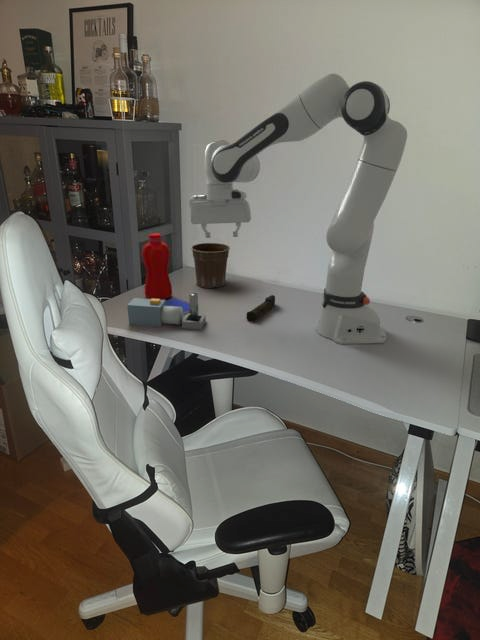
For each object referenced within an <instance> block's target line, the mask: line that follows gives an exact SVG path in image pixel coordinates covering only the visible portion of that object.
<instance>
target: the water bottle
mask: <svg viewBox="0 0 480 640" xmlns="http://www.w3.org/2000/svg"><path fill="white" fill-rule="evenodd" d="M170 253H171V252H170V248H169V246H168V245H167V243H165V242H163V241H162V234H161V233H158V232H154V233H151V234H148V242H147V243H145V245H143V247H142V251H141V257H142V263H143V266H144V267H145V269H146V275H145V276H146V277H145V285H144V295H145V299H152V298H153V299H160V300H165V301H166V299H169V298H171V297H172V295H173V289H172V282H171V279H170V276H169V273H168V272H169V270H168V269H169V263H170V257H171V256H170V255H171V254H170Z"/></svg>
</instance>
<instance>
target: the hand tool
mask: <svg viewBox="0 0 480 640" xmlns="http://www.w3.org/2000/svg"><path fill="white" fill-rule="evenodd" d="M275 304H276V296H275V295H274V294H272V295H269V296H267V297H265V299H264V301H263V302H262V303H260V304H259V305H258V306H256V307H254V308H253V309H252V310H250V311H247V312H246V317H245V318H246V320H247V321H248V322H251V323H256V322H257V321H258V319H259V318H260V317H261V316H262V315H264V314H265V313H267V312H268V311H271V310H273V308H274V307H275Z"/></svg>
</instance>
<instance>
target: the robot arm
mask: <svg viewBox="0 0 480 640" xmlns="http://www.w3.org/2000/svg"><path fill="white" fill-rule="evenodd" d="M390 107H391V103H390V97H388V94H387V92H386V90H384V88H383V87H382V86H380V85H379V84H377V83H374V82H373V81H368V80H366V81H364V80H363V81H360V82H357V83H355V84H353V85H352V86H349V85H348V83H347V81H346V80H345V79H344V78H343V77H342V76H341V75H339V74H338V73H329V74H326V75H325V76H323V77H321V78H320V79H318V80H317V81H315V82H313V83H312V84H310V85H308V87H306V88H305V89H303V90H302V91H301V92H300V93H299V94H297V95H296V96H295V97H294V98H292V100H290V101H289V102H288V103H287V104H285V105H284V106H283V107H282V108H280V109H278V111H277V112H275V113H274V114H272V115H271V116H269V117H267V119H265V120H264V121H261V122H260V123H259V124H258V125H256V126H255V127H254V128H252V129H251V130H249V131H248V132H247V133H245V134H244V135H243V136H240V138H238V139H237V140H236V141H234V142H232V143H230V141H228V140H224V139H223V140H214V141H212V142H210V143H209V144H207V146H206V147H205V151H204V172H205V177H206V182H205V192H206V194H205V195H193V196H192V197H191V198H190V199H189V209H190V223H191V224H193V225H201V228H202V230H203V232H204V237H205V238H206V239H208V238H209V239H210V238H211V237H212V236H211V231H208V229H207V225H209V224H211V225H213V224H235V226H236V229H235V231H232V237H233V238H238V236H239V230H240V228H241V226H242V225H241V224H242V223H250V222H251V220H252V214H251V207H250V203H249V201H247V200H246V199H247V192H244V191H241V190H238V189H234V187H233V184H234V183H249V182H252V181H254V180H255V179H256V178H257V177H258V176H259V173H260V170H261V163H260V159H259V158H258V155H259V154H260V153H262V152H263V151H264V150H266V149H267V148H270V147H271V146H274V145H277V144H280V143H290V142H291V143H292V142H293V143H295V142H302V141H304V140H306V139H309V138H310V137H312V136H313V135H315V134H317V133H318V132H319V131H321V130H322V129H323V128H324V127H325V126H327V125H328V124H329V123H332V122H333V121H334V120H336V119H338V118H343V120H344V122H345V123H346V124H347V125H348V126H349V127H350V128H352V129H353V130H355V131H356V132H357V133H358V134H360V135H361V136H363V143H362V146H361V149H360V152H359V156H358V158H357V160H356V163H355V166H354V169H353V172H352V175H351V176H350V179H349V182H348V183H347V184H348V185H347V187H346V189H345V191H344V193H343V196H342V197H341V200H340V202H339V203H338V205H337V208H336V210H335V212H334V215H333V218H332V220H331V221H330V224H329V226H328V229H327V231H326V236H325V237H326V238H325V239H326V243H327V245H328V247H329V248H330V250H332V252H331V255H330V259H329V263H328V266H327V273H326V284H325V288H324V289H323V293H322V302H321V305H322V309H321V313H320V317H319V319H318V322H317V323H316V327H315V331H316V332H317V333H318V334H319V335H320V336H322V337H324V338H327V339H330V340H332V341H333V342H335V343H336V344H340V345H343V344H344V345H346V344H347V345H348V344H349V345H350V344H351V345H353V344H355V345H356V344H358V345H359V344H360V345H361V344H384V343H385V342H386V341H387V332H386V331H385V329H384V328H383V326H381V320H380V317H379V315H378V314H377V312H376V311H375V310H374V309H372V307H370V306H369V305H370V303H371V300H370V298H369V297H368V296H367V294H365V292H364V291H362V288H363V282H364V274H365V271H366V270H365V269H366V264H367V261H368V256H369V251H370V248H371V244H372V239H373V234H374V230H375V228H374V227H375V220H376V217H377V216H378V213H379V212H380V210H381V207H382V206H383V204H384V202H385V199H386V197H387V195H388V192H389V190H390V188H391V185H392V183H393V180H394V178H395V176H396V174H397V171H398V169H399V166H400V164H401V162H402V158H403V154H404V152H405V147H406V144H407V139H408V131H407V129H406V127H405V126H404V125H403V124H402V123H400V122H399V121H397V120H394V119H391V118H390V117H389V113H390Z"/></svg>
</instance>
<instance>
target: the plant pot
mask: <svg viewBox="0 0 480 640" xmlns="http://www.w3.org/2000/svg"><path fill="white" fill-rule="evenodd" d="M190 249H191V252H192V258H193V260H194V261H193V262H194V270H195V271H194V273H195V279H196V284H197V286H199V287H201V288H205V289H206V288H207V289H213V288H220V287H223V286H224V285H225V284H226V277H227V276H226V275H227V265H228V258H229V252H230V250H231V247H230V245H228V244H225V243H217V242H202V243H196V244H193V245H191V246H190Z"/></svg>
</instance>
